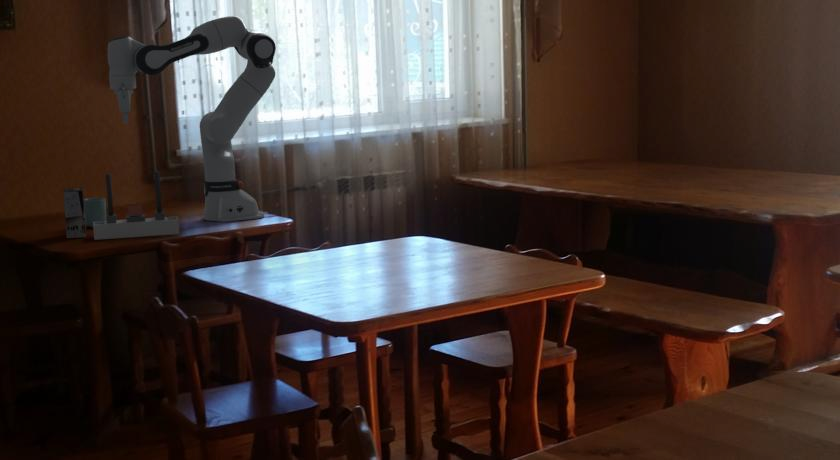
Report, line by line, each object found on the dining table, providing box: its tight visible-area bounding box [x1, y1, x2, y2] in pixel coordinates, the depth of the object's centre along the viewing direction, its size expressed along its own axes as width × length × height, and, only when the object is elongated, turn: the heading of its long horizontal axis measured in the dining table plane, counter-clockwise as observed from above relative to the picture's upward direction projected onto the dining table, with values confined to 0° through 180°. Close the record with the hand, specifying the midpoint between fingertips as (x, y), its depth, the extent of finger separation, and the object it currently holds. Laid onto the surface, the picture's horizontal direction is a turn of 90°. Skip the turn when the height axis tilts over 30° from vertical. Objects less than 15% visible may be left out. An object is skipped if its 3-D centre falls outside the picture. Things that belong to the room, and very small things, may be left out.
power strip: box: [92, 213, 180, 241], centre depth 361 cm, size 28×7×7 cm, turn 105°
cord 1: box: [105, 173, 117, 224], centre depth 357 cm, size 3×4×16 cm
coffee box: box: [62, 187, 87, 239], centre depth 361 cm, size 9×6×16 cm
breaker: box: [128, 204, 143, 216], centre depth 360 cm, size 4×1×3 cm, turn 105°
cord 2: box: [153, 171, 166, 220], centre depth 361 cm, size 3×4×16 cm
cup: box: [84, 197, 107, 228], centre depth 378 cm, size 8×8×10 cm
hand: (125, 123), depth 368 cm, fingers closed
